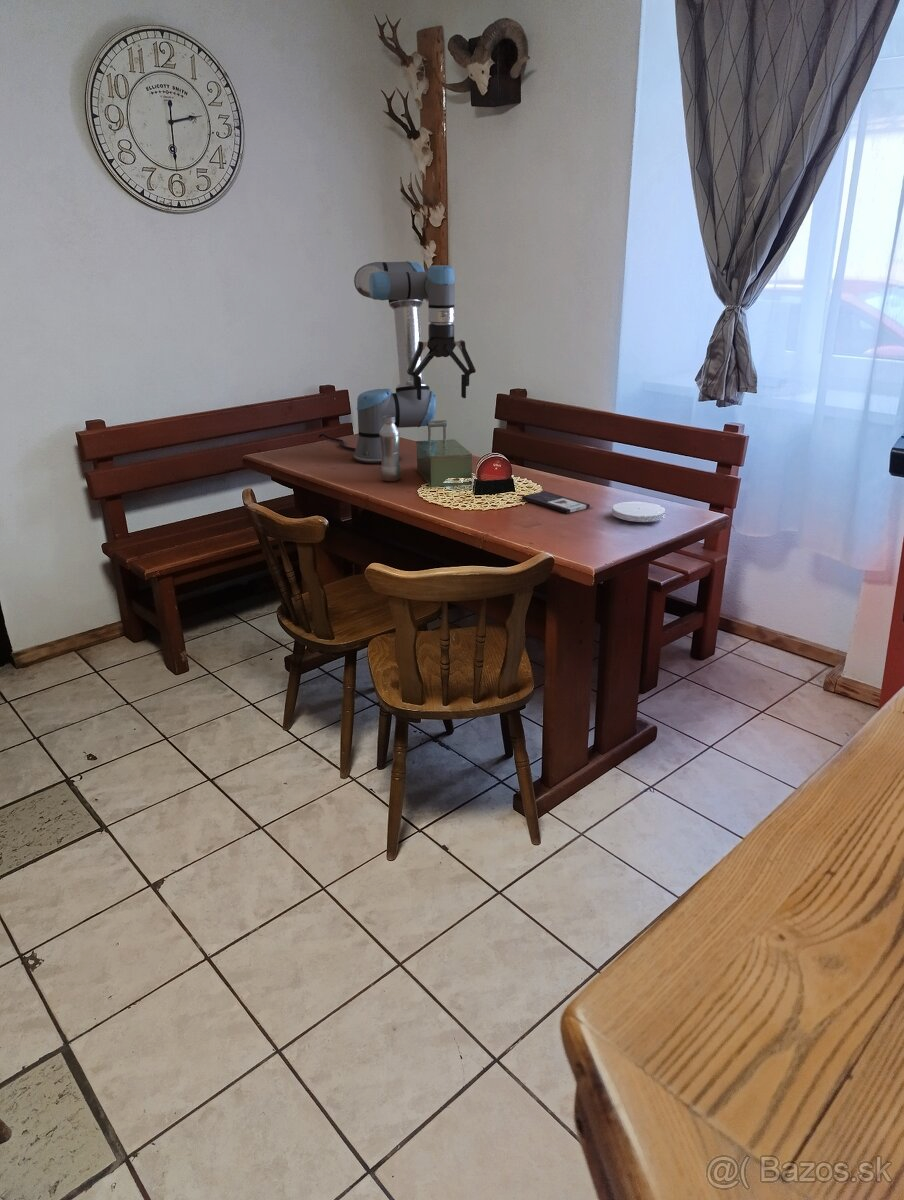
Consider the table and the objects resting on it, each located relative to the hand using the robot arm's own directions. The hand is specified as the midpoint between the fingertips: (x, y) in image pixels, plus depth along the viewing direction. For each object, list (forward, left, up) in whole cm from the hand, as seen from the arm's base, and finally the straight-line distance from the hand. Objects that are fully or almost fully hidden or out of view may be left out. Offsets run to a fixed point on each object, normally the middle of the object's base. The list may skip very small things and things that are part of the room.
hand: (441, 398), depth 242 cm
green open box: (-7, +2, -26) cm, 27 cm away
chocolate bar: (+30, +26, -26) cm, 47 cm away
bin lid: (-8, +2, -17) cm, 19 cm away
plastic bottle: (-7, -15, -26) cm, 31 cm away
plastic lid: (+48, +43, -26) cm, 70 cm away
